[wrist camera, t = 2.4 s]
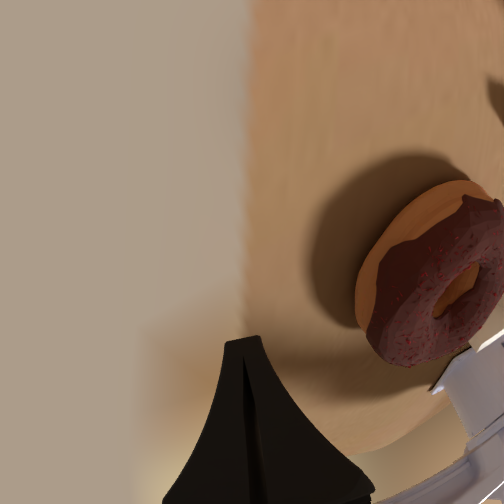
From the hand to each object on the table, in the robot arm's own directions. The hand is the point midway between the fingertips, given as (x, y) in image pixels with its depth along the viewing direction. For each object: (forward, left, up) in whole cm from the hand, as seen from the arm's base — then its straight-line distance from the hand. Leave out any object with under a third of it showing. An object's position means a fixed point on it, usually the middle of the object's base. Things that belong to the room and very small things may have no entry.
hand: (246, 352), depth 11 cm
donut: (-10, 0, -2) cm, 10 cm away
